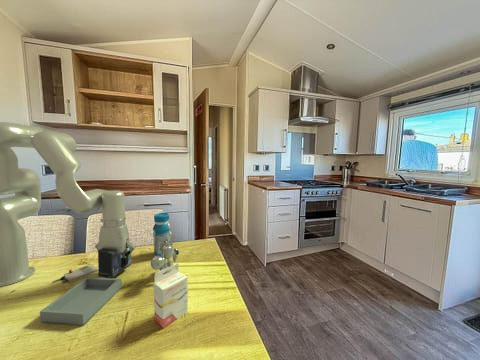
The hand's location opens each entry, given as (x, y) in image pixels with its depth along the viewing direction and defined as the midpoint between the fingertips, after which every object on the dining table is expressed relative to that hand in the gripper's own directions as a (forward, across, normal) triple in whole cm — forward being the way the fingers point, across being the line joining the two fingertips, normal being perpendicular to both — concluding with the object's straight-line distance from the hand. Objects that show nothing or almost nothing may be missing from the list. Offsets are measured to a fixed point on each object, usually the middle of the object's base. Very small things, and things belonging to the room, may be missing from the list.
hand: (115, 265), depth 83 cm
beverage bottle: (+4, +11, +19) cm, 22 cm away
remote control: (+6, -15, -1) cm, 16 cm away
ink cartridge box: (+4, +31, -19) cm, 36 cm away
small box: (+3, 0, 0) cm, 3 cm away
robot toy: (+4, +21, 0) cm, 21 cm away
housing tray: (+4, +1, -16) cm, 17 cm away
